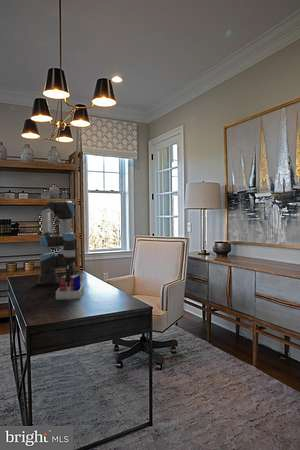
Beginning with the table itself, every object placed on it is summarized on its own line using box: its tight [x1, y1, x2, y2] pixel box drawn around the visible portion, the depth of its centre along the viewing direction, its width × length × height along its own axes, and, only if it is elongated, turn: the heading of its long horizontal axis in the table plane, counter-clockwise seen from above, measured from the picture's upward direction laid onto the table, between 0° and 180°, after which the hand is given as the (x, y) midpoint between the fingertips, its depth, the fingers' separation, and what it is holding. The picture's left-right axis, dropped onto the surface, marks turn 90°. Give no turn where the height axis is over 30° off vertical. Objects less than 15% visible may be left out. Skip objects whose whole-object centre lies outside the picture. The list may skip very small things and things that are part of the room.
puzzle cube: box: [59, 274, 81, 291], centre depth 218 cm, size 10×10×10 cm
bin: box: [55, 284, 85, 301], centre depth 218 cm, size 19×15×5 cm
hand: (70, 289), depth 218 cm, fingers closed on puzzle cube, 11 cm apart
